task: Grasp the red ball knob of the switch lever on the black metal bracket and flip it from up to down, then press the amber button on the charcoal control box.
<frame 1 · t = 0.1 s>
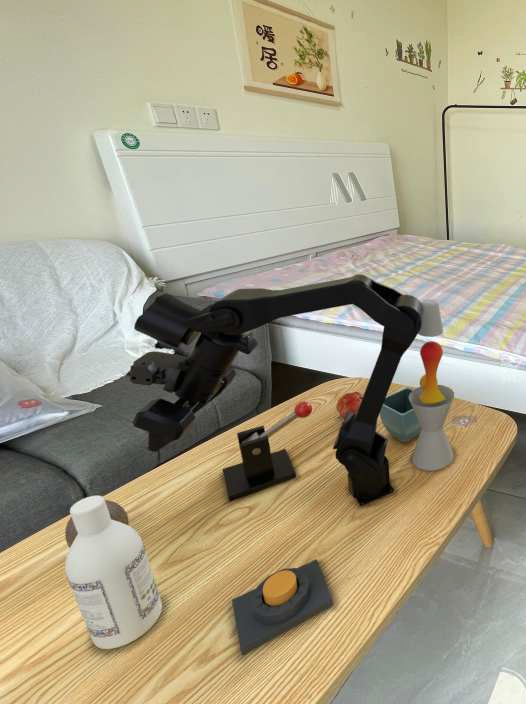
hand: (169, 432, 72), 15 cm above the table, tool tilted 30°, fingers open, 9 cm apart
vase: (104, 546, 68), on the table
lava lamp: (433, 457, 92), on the table
lever: (279, 425, 84), point 10 cm above the table, hinge at 25.0°
button: (280, 587, 60), point 3 cm above the table, slide at 0.1 cm
bath foam: (129, 624, 57), on the table
pomegranate: (353, 420, 104), on the table
bracket: (259, 475, 84), on the table
flower pot: (406, 434, 99), on the table
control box: (283, 605, 61), on the table
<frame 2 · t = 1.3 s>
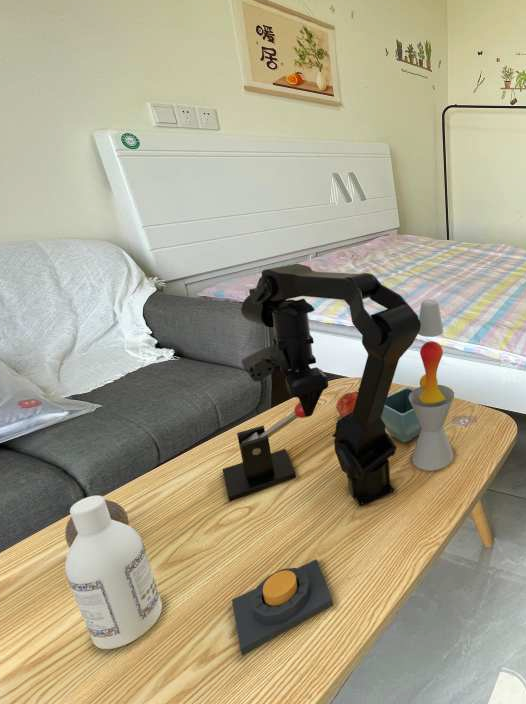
hand: (302, 405, 86), 13 cm above the table, tool pointing down, fingers open, 9 cm apart
nothing on the table moved.
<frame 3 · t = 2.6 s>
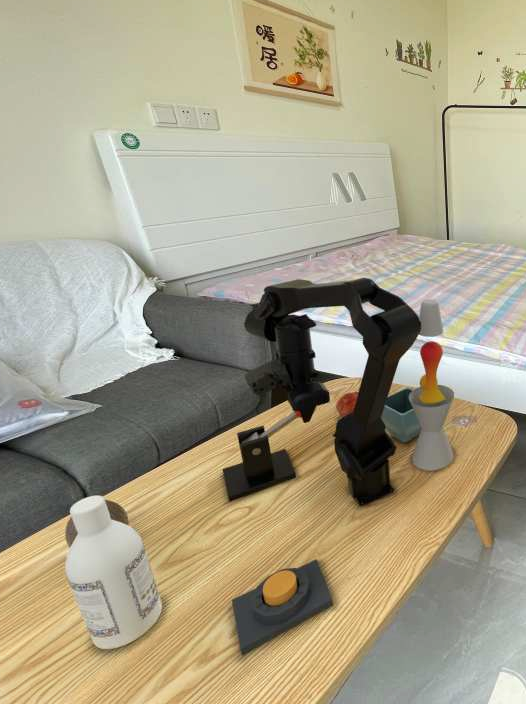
hand: (304, 418, 87), 10 cm above the table, tool pointing down, fingers closed on lever, 3 cm apart
lever: (279, 425, 84), point 10 cm above the table, hinge at 25.0°, touching gripper
everything else where it was.
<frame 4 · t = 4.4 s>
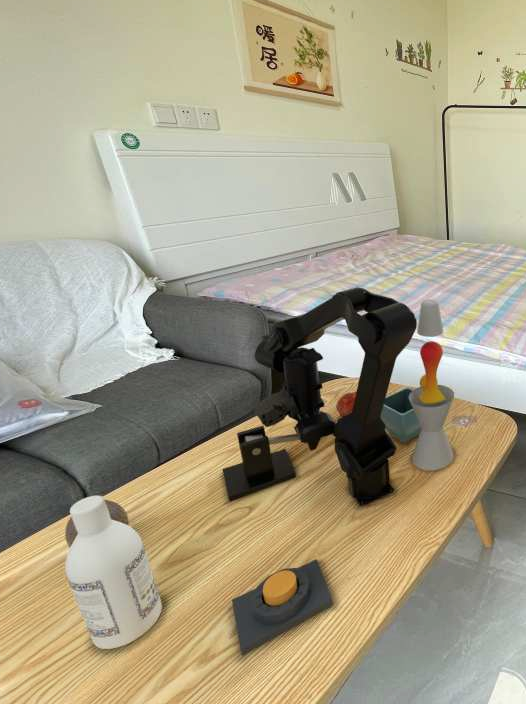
hand: (311, 445, 89), 3 cm above the table, tool pointing down, fingers closed on lever, 3 cm apart
lever: (284, 438, 85), point 6 cm above the table, hinge at -11.8°, touching gripper
everything else where it was.
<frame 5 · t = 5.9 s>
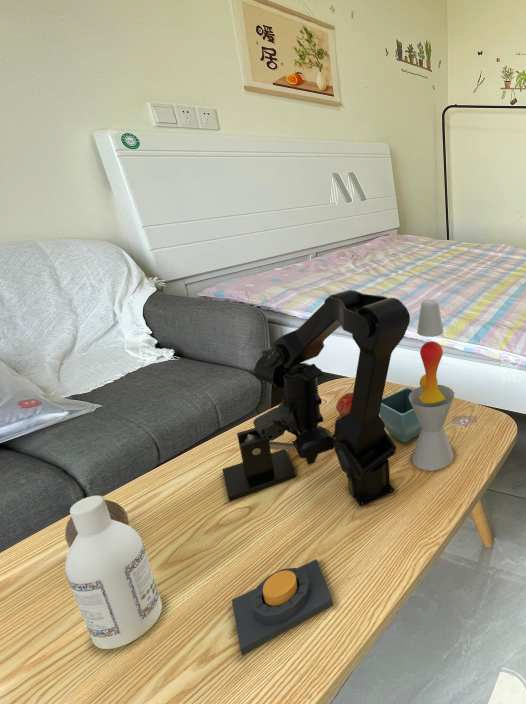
hand: (308, 459, 90), 0 cm above the table, tool pointing down, fingers closed on lever, 3 cm apart
lever: (282, 445, 85), point 5 cm above the table, hinge at -28.9°, touching gripper
everything else where it was.
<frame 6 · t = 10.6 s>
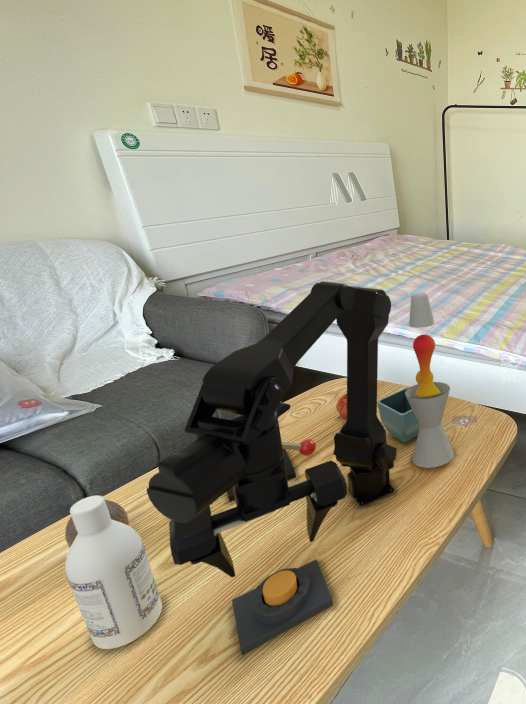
hand: (274, 556, 58), 9 cm above the table, tool pointing down, fingers open, 9 cm apart
lever: (282, 445, 85), point 5 cm above the table, hinge at -27.9°
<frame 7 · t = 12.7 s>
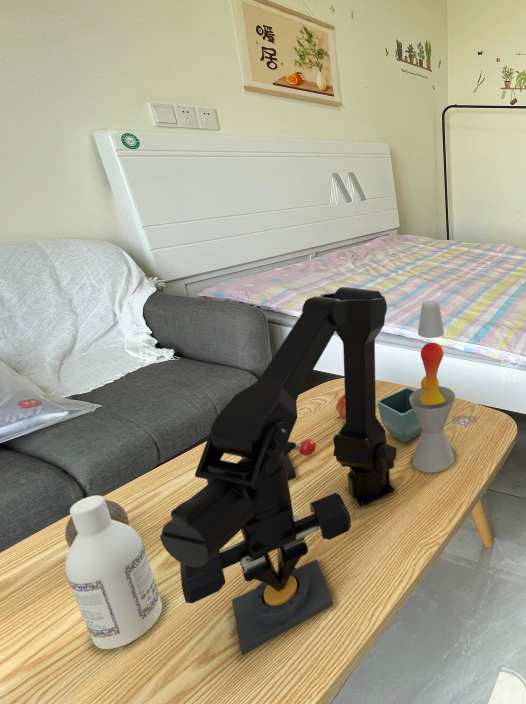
hand: (280, 587, 60), 3 cm above the table, tool pointing down, fingers closed, pressing on button
button: (281, 592, 60), point 3 cm above the table, slide at -0.8 cm, touching gripper
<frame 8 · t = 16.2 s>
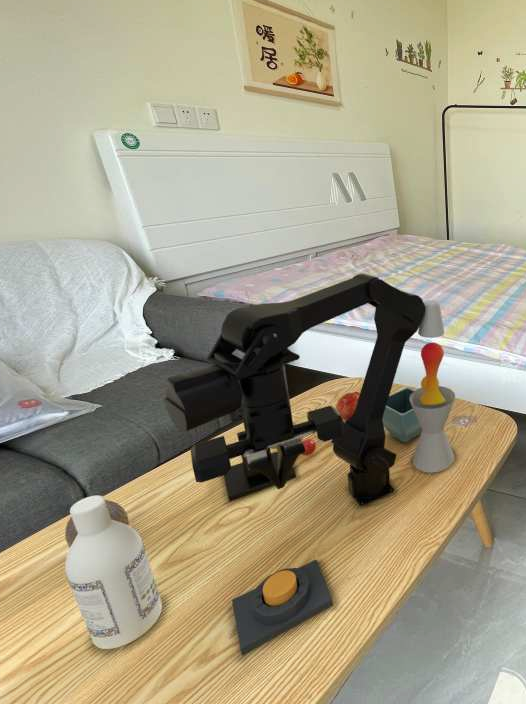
hand: (280, 486, 66), 12 cm above the table, tool pointing down, fingers closed
lava lamp: (433, 459, 92), on the table, touching arm
button: (280, 587, 60), point 3 cm above the table, slide at 0.1 cm
everything else where it was.
at the end: lever at -28° (first picture: +25°); button pushed in 1.0 cm at the most during the clip, back to where it started at the end; button slide at 0.1 cm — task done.
